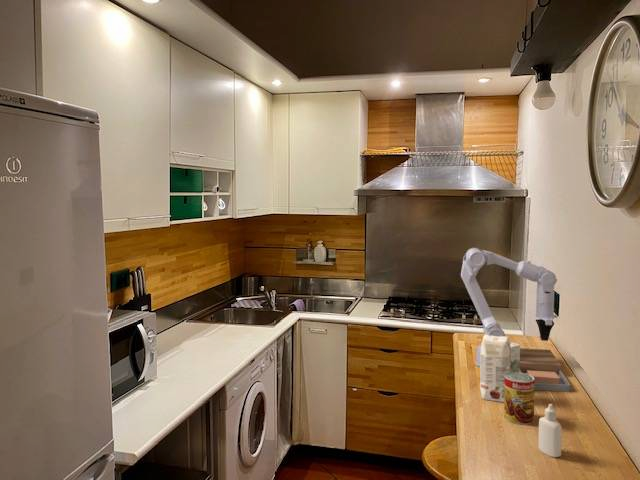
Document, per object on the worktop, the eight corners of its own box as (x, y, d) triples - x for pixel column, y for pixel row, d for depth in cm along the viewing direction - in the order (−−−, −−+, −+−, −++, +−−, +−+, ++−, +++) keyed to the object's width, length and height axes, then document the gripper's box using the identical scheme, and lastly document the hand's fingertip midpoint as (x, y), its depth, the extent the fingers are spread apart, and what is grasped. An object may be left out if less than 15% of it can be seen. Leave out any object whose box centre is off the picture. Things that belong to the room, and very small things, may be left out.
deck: (560, 376, 172) (561, 365, 172) (517, 373, 175) (517, 362, 175) (549, 360, 189) (550, 349, 189) (510, 357, 193) (510, 347, 192)
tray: (571, 392, 158) (571, 385, 158) (524, 388, 162) (524, 382, 161) (560, 376, 172) (561, 370, 172) (517, 373, 175) (517, 368, 175)
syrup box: (503, 382, 168) (504, 339, 167) (519, 387, 163) (520, 343, 162) (493, 386, 164) (494, 342, 163) (509, 391, 160) (510, 347, 159)
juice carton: (508, 404, 150) (509, 342, 148) (479, 399, 153) (479, 339, 152) (510, 395, 157) (511, 335, 155) (482, 391, 160) (482, 333, 159)
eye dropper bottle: (555, 447, 124) (556, 400, 123) (562, 458, 118) (563, 409, 117) (537, 445, 125) (538, 399, 124) (542, 457, 119) (543, 408, 118)
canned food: (518, 426, 135) (518, 383, 134) (497, 415, 142) (498, 374, 141) (540, 421, 138) (541, 379, 137) (519, 410, 145) (519, 370, 144)
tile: (555, 372, 170) (555, 377, 170) (527, 370, 172) (526, 376, 172) (559, 378, 164) (559, 384, 164) (530, 376, 166) (530, 382, 166)
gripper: (562, 307, 171) (561, 346, 172) (552, 299, 185) (552, 335, 186) (539, 306, 172) (539, 345, 173) (532, 298, 186) (531, 334, 187)
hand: (544, 340), depth 180 cm, fingers closed
